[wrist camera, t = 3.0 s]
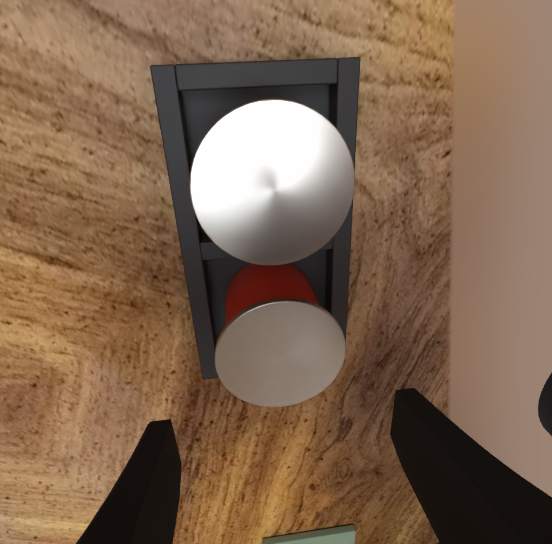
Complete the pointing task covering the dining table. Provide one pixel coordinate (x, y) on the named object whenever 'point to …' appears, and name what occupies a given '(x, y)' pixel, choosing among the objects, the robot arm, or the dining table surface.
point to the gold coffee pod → (272, 181)
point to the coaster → (317, 537)
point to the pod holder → (182, 147)
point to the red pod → (277, 338)
